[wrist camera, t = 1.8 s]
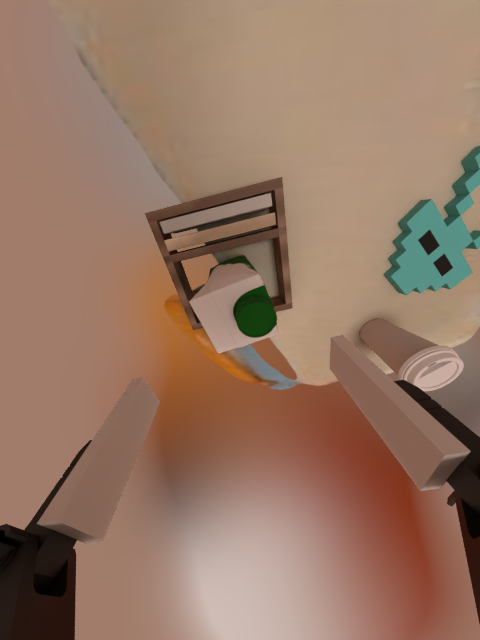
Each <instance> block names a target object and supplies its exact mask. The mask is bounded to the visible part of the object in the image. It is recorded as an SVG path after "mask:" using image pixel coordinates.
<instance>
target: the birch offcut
mask: <svg viewBox="0 0 480 640" xmlns="http://www.w3.org/2000/svg"><path fill="white" fill-rule="evenodd" d="M273 225H276V219H275V212H274V213H270V214H266V215H262V216H259V217H255V218H251V219H247V220H243V221H239V222H235V223H231V224H227V225H223V226H219V227H215V228H211V229H207V230H203V231H200V232H196V233H192V234H188V235H184V236H180V237H177V238H172V239H168V240H164V241H165V244H166V246H167V249H168V252H169V251H173V250H177V249H180V248H185V247H188V246H193V245H196V244H200V243H205V242H209V241H213V240H217V239H221V238H225V237H229V236H233V235H237V234H241V233H245V232H249V231H253V230H257V229H261V228H265V227H269V226H273Z"/></svg>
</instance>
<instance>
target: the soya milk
mask: <svg viewBox="0 0 480 640" xmlns="http://www.w3.org/2000/svg"><path fill="white" fill-rule="evenodd" d="M189 303H190V305H191V306H192V308H193V310H194V312H195V313H196V315H197V317H198V319H199V320H200V322H201V324H202V326H203V328H204V329H205V331H206V333H207V335H208V336H209V338H210V340H211V342H212V343H213V345H214V347H215V349H216V350H217V352H218V354H219V353H222V352H225V351H228V350H231V349H234V348H241V347H244V346H246V345H248V344H251V343H253V342H256V341H259V340H262V339H265V338H268V337H271V336H273V335H276V334H278V333H279V332H278V328H277V322H276V321H277V316H276V312H275V310H274V306H273V303H272V300H271V298H270V297H269V295H268V293H267V290H266V287H265V285H264V283H263V280H262V278H261V276H260V274H259V273H257V272H256V270H255V269H254V267H253V266H252V265H251V263H250V262H249V261H248V260H247V259H246V257H245V256H244V255H243V256H240V257H237V258H234V259H231V260H228V261H226V262H223V263H221V264H218V265H216V266H215V267H213V268H212V269H210V274H209V279H208V281H207V283H206V284H205V285H204V286H203V287H202V289H201V290H200V291H199V292H198V293H197V294H196V295H195V296H194V297H193V298H192V299H191V300H190V301H189Z"/></svg>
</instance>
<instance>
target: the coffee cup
mask: <svg viewBox="0 0 480 640" xmlns="http://www.w3.org/2000/svg"><path fill="white" fill-rule="evenodd" d="M360 338H361V339H362V340H363V341H364V342H365V343H366V344H367V345H368V346H369V347H370V348H371V349H372V350H373V351H374V352H375V353H376V354H377V355H378V356H379V357H380V358H381V359H382V360H383V361H384V362H385V363H386V364H387V365H388V366H389V367H390V368H391V369H392V370H393V371H394V372H395V373H396V374H397V375H398V378H399V380H405V381H407V382H409V383H411V384H413V385H415V386H417V387H419V388H420V389H421V390H422V391H432V390H435V389H439V388H441V387H443V386H445V385H447V384H449V383H450V382H452V381H453V380H454V379H456V378H457V377H458V375H459V374H460V373H461V371H462V370H463V362H462V361H461V359H459V357H458V355H457V354H456V352H455V351H454V350H452V349H451V348H450V347H447V346H439V345H437V344H434V343H432V342H430V341H428V340H426V339H423V338H421V337H419V336H417V335H415V334H412V333H410V332H408V331H406V330H404V329H401V328H399V327H397V326H395V325H393V324H391V323H388V322H386V321H384V320H382V319H374V320H371V321H369V322H367V323H366V324H365V325H364V326H363V327H362V329H361V330H360Z"/></svg>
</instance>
